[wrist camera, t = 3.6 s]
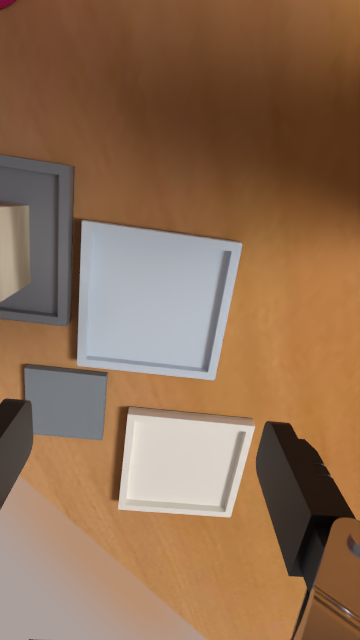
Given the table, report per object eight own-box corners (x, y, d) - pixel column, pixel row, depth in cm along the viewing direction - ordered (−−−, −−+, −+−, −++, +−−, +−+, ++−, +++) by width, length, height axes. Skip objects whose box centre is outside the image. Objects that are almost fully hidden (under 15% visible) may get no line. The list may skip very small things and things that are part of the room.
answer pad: (107, 372, 25) (106, 376, 24) (103, 435, 27) (101, 440, 27) (27, 364, 24) (24, 368, 24) (29, 428, 27) (26, 433, 26)
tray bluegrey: (239, 241, 22) (242, 243, 21) (212, 373, 25) (214, 380, 24) (85, 219, 21) (81, 220, 20) (80, 359, 25) (76, 365, 24)
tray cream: (252, 418, 27) (255, 426, 26) (228, 507, 31) (230, 517, 30) (129, 406, 26) (127, 414, 25) (119, 499, 30) (118, 509, 29)
